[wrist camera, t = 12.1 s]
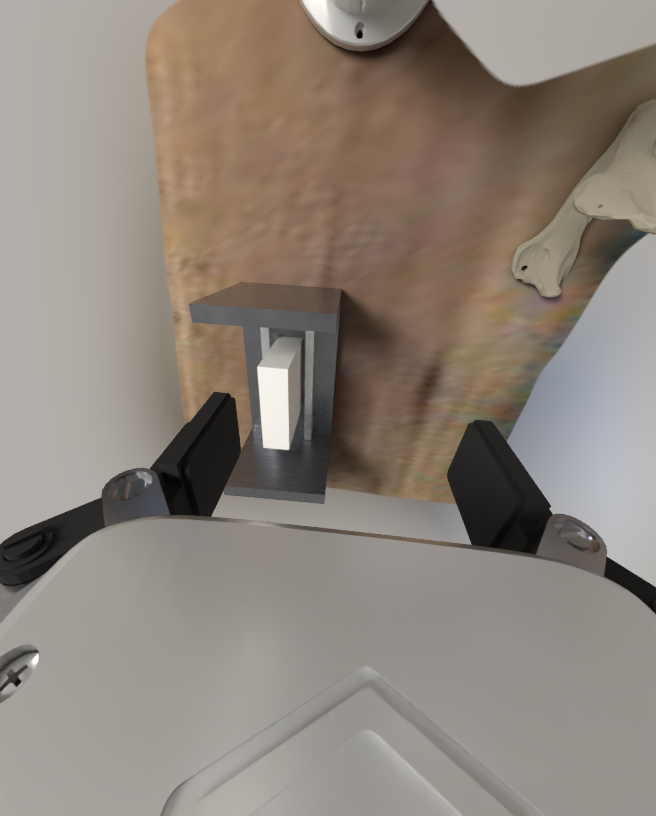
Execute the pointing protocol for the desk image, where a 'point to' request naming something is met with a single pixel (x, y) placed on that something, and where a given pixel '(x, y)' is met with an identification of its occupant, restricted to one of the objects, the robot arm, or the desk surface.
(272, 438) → the door
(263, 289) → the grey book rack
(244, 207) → the desk surface
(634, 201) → the jawbone
